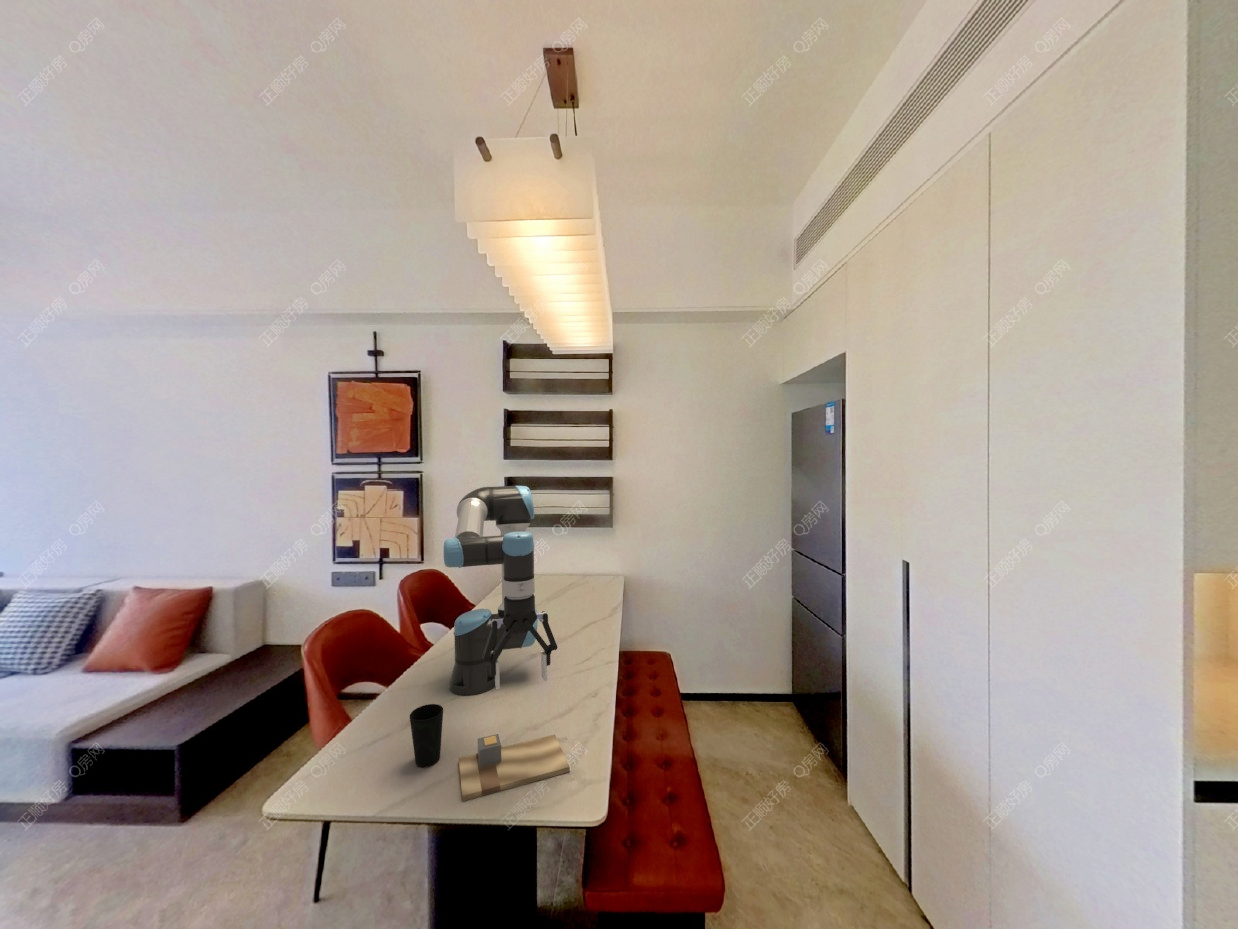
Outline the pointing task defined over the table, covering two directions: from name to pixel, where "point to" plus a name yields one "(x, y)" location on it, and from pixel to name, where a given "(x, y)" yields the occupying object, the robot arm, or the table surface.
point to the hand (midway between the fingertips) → (521, 683)
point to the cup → (427, 734)
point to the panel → (512, 767)
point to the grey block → (489, 750)
